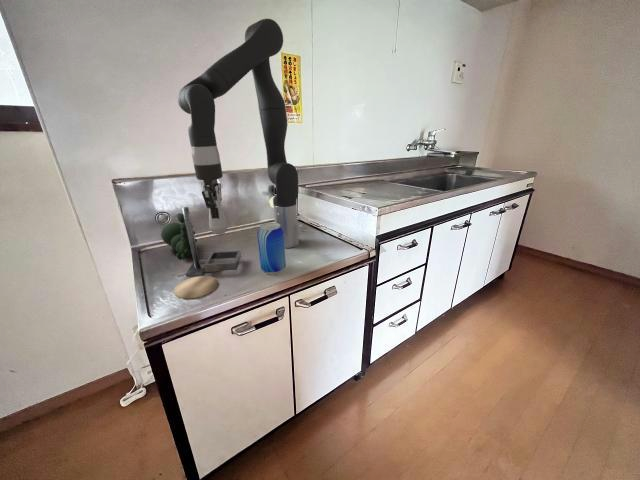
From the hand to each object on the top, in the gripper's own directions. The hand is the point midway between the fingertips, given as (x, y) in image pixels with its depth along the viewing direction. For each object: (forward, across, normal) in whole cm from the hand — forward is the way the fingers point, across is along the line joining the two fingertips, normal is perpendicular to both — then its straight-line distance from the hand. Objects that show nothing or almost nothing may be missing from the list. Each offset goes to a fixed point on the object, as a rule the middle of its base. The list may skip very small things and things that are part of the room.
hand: (217, 217), depth 85 cm
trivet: (+18, -12, +6) cm, 23 cm away
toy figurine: (+19, +15, +19) cm, 31 cm away
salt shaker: (+5, 0, 0) cm, 5 cm away
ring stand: (+18, 0, +4) cm, 19 cm away
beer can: (+19, -4, -16) cm, 25 cm away
